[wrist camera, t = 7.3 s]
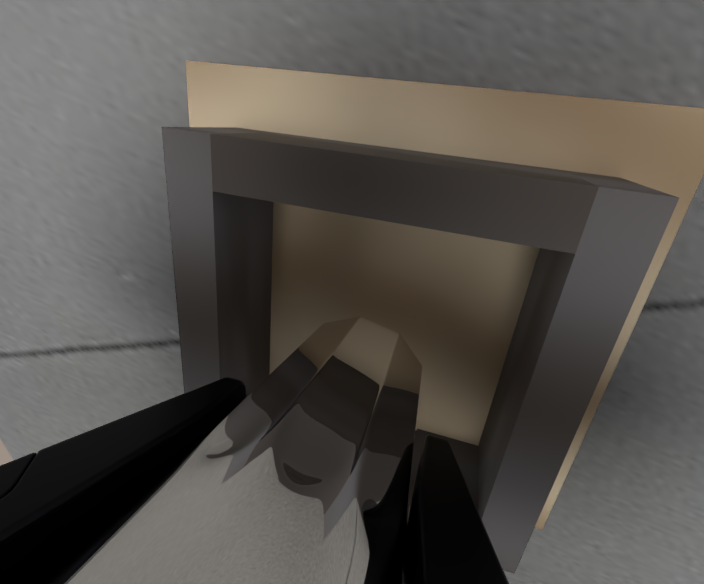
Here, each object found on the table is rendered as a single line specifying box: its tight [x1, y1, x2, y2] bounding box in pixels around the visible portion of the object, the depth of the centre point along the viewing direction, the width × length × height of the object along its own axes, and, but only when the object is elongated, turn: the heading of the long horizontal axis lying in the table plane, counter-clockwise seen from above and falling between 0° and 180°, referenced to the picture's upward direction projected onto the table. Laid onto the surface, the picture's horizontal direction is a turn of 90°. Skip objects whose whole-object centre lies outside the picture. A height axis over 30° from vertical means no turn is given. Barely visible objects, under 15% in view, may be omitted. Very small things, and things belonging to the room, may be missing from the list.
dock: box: [162, 61, 704, 573], centre depth 11 cm, size 13×13×4 cm
